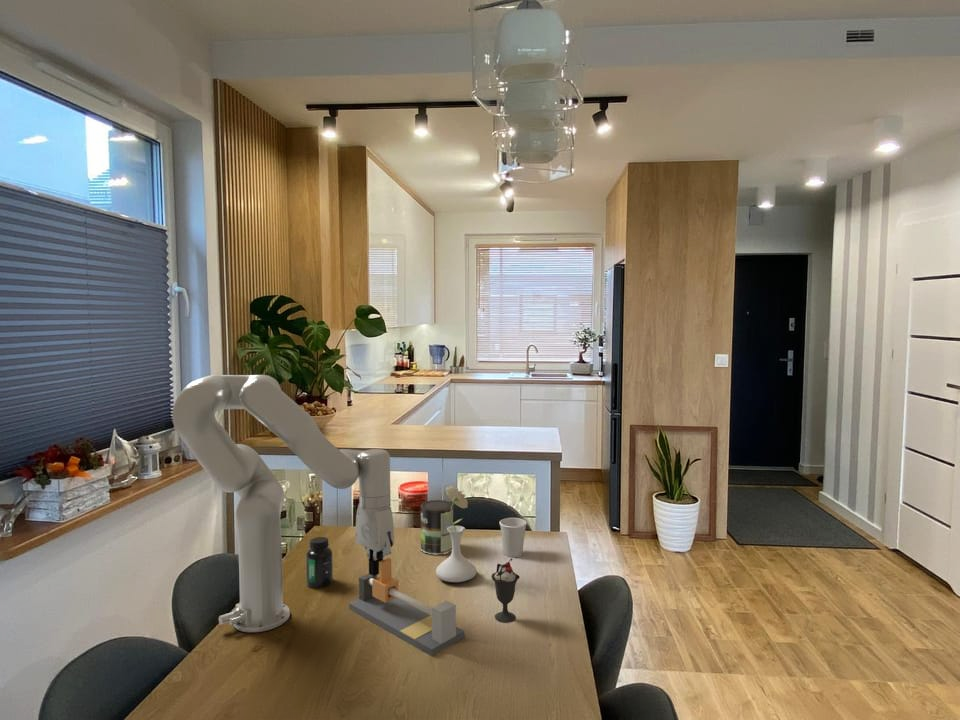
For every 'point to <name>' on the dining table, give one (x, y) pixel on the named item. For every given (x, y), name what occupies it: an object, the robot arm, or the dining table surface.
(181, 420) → the robot arm
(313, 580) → the supplement bottle
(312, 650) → the dining table surface
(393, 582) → the orange l-shaped block
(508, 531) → the dixie cup
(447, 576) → the flower in vase
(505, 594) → the sundae
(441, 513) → the coffee can
